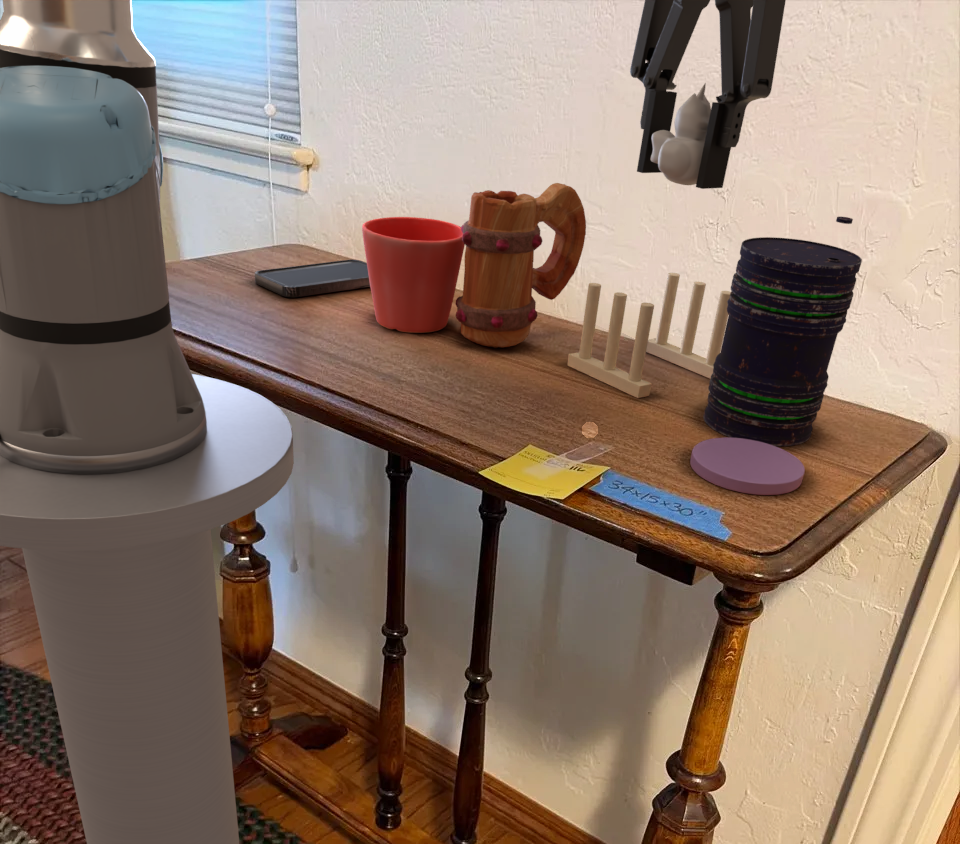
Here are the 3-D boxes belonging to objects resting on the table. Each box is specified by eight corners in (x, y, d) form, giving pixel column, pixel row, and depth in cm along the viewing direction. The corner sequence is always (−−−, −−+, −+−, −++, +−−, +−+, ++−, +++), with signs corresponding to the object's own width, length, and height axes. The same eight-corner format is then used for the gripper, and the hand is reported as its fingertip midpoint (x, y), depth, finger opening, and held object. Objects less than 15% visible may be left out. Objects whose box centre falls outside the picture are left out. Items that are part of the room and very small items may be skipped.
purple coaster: (753, 504, 73) (756, 493, 72) (667, 460, 78) (669, 449, 78) (824, 480, 77) (827, 469, 77) (738, 440, 83) (740, 429, 82)
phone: (250, 271, 111) (356, 258, 120) (251, 281, 112) (356, 267, 120) (288, 288, 106) (394, 273, 115) (288, 298, 107) (394, 283, 116)
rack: (637, 398, 90) (653, 309, 85) (567, 365, 96) (578, 281, 91) (725, 378, 97) (744, 295, 92) (654, 349, 103) (668, 269, 98)
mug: (475, 358, 96) (487, 195, 87) (434, 333, 101) (442, 178, 93) (590, 343, 103) (612, 191, 94) (546, 321, 108) (564, 176, 100)
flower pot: (381, 341, 98) (383, 240, 92) (348, 310, 106) (348, 215, 100) (476, 335, 102) (483, 239, 96) (437, 306, 110) (442, 215, 104)
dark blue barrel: (681, 419, 86) (726, 204, 76) (736, 396, 92) (784, 194, 82) (780, 456, 81) (843, 230, 71) (831, 429, 87) (895, 217, 77)
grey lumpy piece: (692, 191, 83) (714, 86, 78) (629, 177, 86) (646, 75, 82) (723, 188, 86) (745, 86, 82) (661, 174, 90) (679, 76, 85)
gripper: (878, -144, 69) (791, 200, 82) (679, -140, 81) (631, 159, 94) (816, -162, 65) (735, 203, 78) (617, -155, 77) (575, 160, 90)
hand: (678, 179), depth 86 cm, fingers closed on grey lumpy piece, 6 cm apart
